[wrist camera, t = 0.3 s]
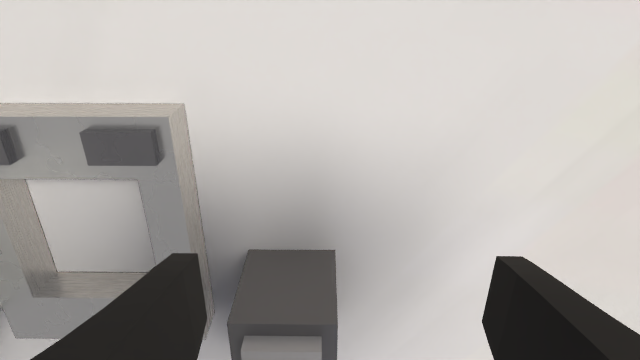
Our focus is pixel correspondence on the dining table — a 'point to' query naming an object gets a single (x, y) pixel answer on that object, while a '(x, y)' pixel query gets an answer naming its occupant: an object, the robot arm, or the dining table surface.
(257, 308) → the plug
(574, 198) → the dining table surface
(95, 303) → the socket plate
